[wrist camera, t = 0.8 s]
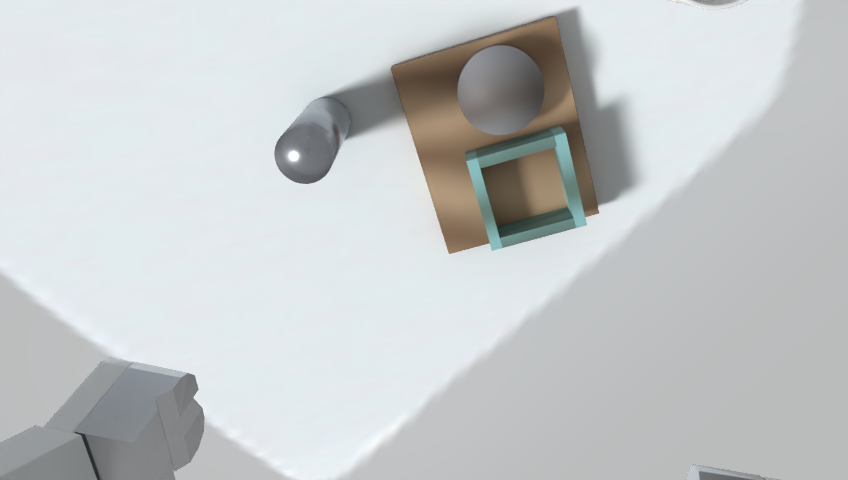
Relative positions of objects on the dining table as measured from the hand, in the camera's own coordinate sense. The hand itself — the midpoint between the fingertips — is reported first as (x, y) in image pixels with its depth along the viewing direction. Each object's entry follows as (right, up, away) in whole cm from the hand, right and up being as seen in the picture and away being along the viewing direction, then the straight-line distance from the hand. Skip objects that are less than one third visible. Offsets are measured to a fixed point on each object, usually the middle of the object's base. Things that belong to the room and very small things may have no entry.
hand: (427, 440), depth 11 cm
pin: (-7, +12, +41) cm, 43 cm away
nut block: (+6, +11, +41) cm, 43 cm away
